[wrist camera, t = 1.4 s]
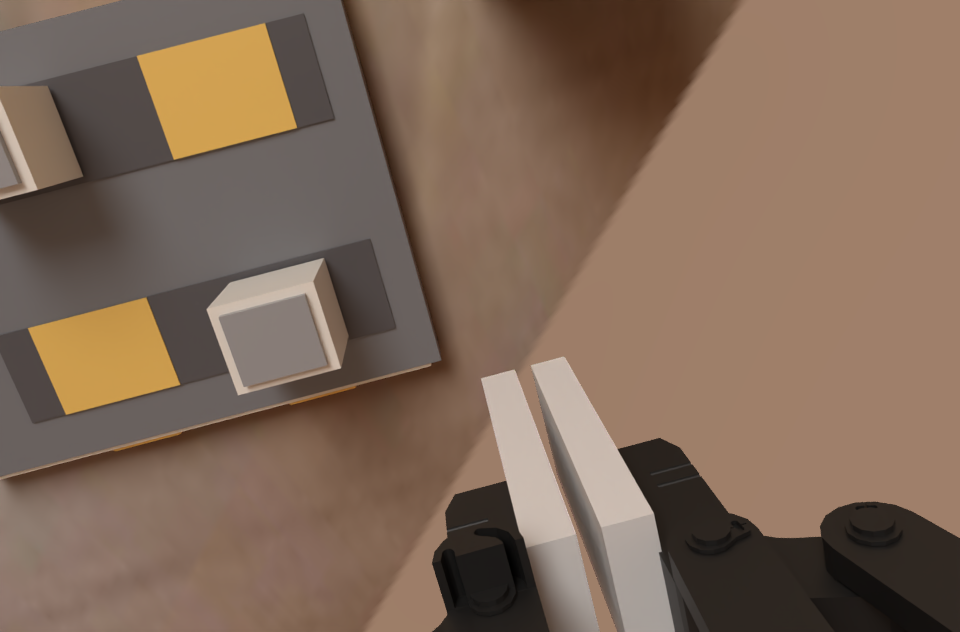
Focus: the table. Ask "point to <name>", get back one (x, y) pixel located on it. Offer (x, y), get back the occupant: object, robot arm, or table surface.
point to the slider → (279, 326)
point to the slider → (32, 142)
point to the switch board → (191, 219)
